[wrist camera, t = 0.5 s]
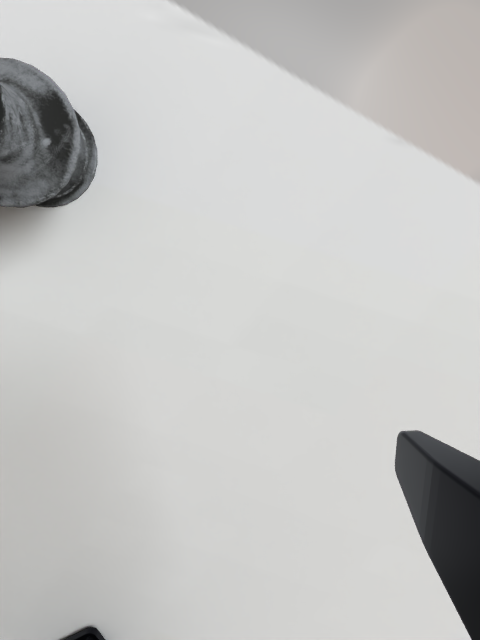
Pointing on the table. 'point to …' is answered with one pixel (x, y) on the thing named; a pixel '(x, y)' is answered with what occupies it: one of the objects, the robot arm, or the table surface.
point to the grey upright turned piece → (41, 141)
